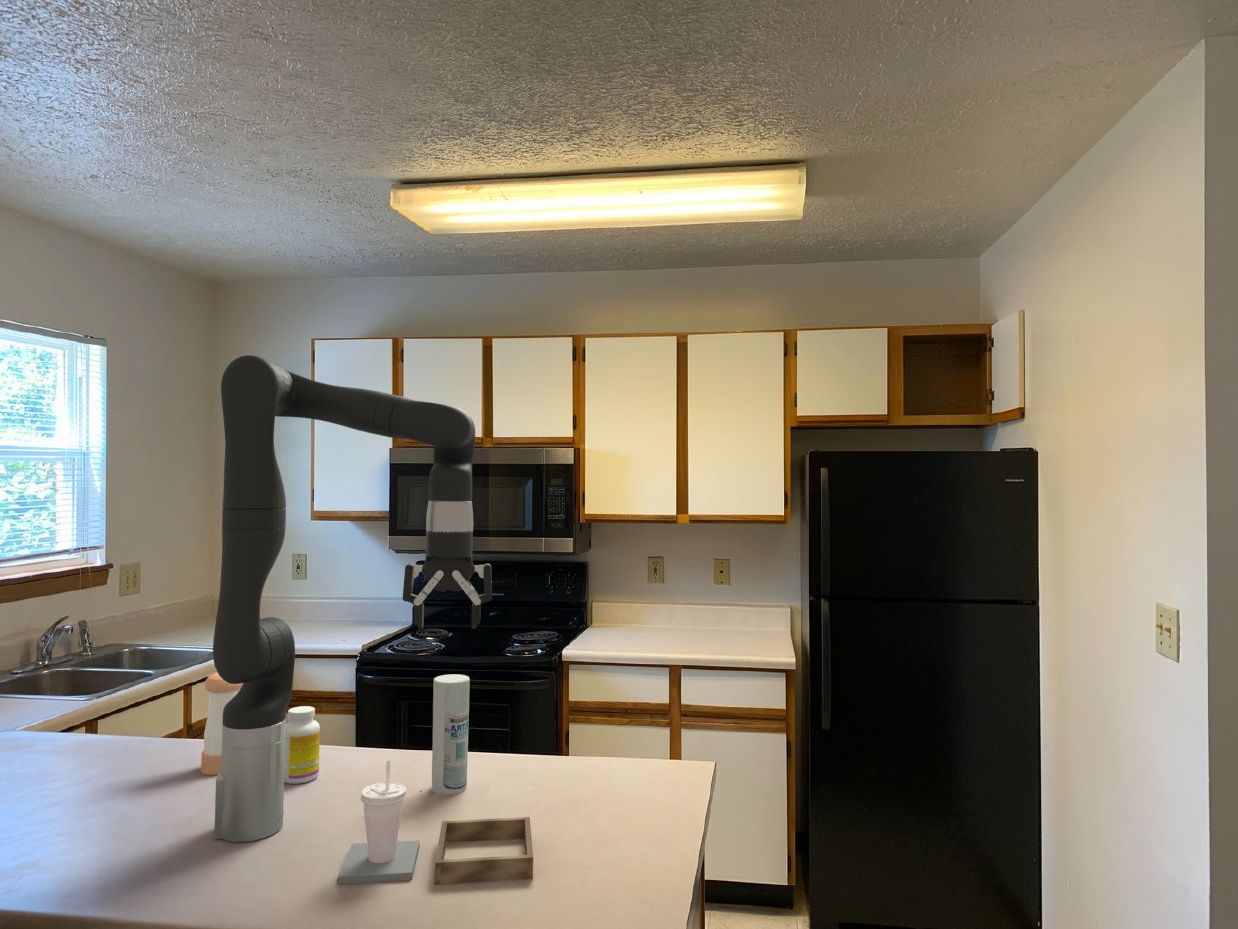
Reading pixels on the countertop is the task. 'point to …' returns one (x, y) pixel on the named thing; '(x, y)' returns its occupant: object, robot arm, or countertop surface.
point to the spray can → (450, 733)
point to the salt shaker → (215, 722)
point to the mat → (379, 864)
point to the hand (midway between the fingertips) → (447, 627)
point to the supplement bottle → (301, 746)
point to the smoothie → (383, 817)
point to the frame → (486, 866)
